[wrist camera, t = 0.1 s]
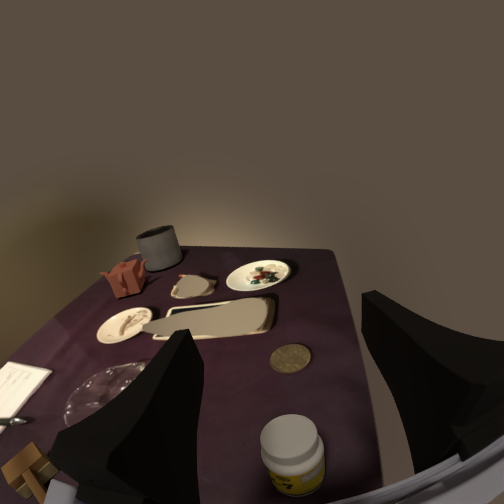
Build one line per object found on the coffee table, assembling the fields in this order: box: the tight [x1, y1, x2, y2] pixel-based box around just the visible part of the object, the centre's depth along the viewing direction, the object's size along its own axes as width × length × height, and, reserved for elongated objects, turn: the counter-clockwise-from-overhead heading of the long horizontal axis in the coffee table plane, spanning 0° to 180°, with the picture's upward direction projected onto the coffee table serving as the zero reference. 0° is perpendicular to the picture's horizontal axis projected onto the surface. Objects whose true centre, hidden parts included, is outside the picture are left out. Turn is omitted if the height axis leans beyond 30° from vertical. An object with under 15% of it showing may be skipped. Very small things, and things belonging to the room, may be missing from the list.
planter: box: [136, 225, 182, 272], centre depth 85 cm, size 13×12×11 cm
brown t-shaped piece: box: [1, 442, 59, 504], centre depth 14 cm, size 8×14×3 cm, turn 63°
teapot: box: [100, 259, 148, 298], centre depth 70 cm, size 12×15×8 cm
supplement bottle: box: [260, 414, 325, 497], centre depth 18 cm, size 5×5×8 cm
